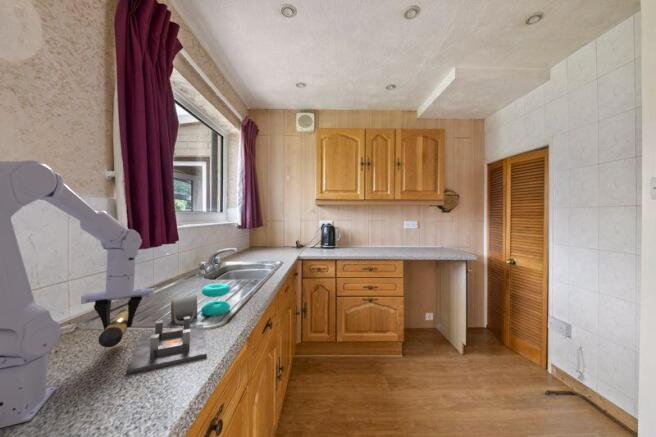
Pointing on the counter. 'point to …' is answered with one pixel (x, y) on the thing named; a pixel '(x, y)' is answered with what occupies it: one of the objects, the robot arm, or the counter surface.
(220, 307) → the donuts
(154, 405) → the counter surface
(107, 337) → the brass tube
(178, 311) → the ceramic mug
